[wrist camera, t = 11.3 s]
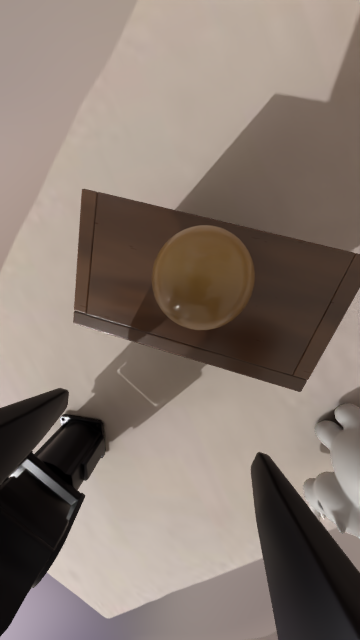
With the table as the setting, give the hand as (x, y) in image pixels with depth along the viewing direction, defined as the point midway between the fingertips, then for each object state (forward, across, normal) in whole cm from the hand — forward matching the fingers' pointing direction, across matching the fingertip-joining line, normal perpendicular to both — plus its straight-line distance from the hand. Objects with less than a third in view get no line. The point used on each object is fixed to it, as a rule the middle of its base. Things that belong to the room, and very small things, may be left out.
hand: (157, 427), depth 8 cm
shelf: (+5, 0, -3) cm, 6 cm away
